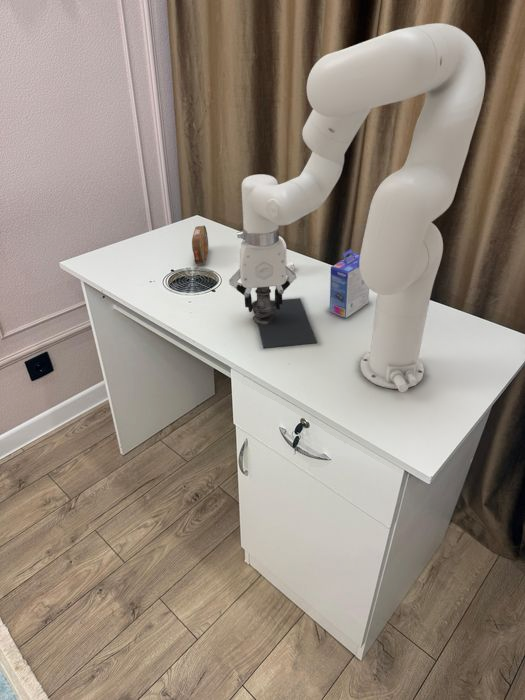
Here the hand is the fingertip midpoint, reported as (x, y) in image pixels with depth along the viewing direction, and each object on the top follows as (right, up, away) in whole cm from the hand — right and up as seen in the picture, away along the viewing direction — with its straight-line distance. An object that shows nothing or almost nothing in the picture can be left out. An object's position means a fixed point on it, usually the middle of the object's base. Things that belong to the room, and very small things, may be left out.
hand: (263, 307), depth 120 cm
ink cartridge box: (+21, 0, +6) cm, 22 cm away
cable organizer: (+3, +12, +22) cm, 25 cm away
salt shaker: (0, -3, +2) cm, 3 cm away
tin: (-18, +17, +31) cm, 40 cm away
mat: (+5, -3, +1) cm, 6 cm away
